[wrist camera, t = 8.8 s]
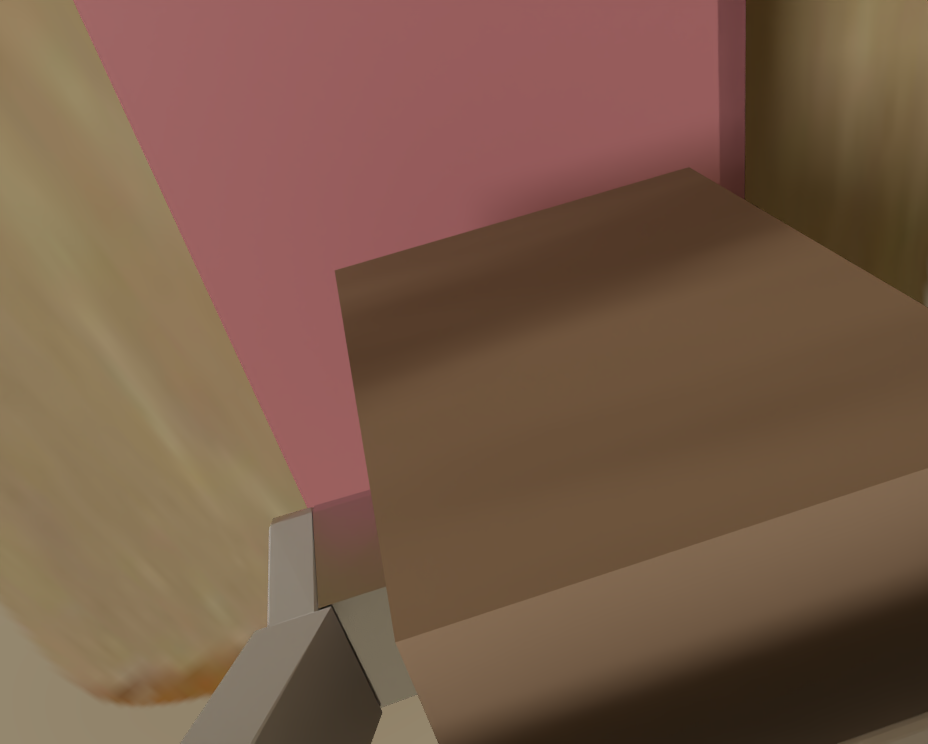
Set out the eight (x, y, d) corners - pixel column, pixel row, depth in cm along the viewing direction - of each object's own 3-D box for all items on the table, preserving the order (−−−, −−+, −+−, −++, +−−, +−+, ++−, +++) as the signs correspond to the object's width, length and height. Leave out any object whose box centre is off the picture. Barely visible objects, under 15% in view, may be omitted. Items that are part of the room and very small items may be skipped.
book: (101, -86, 13) (32, -88, 10) (620, -216, 14) (747, -267, 10) (336, 477, 21) (349, 597, 17) (662, 376, 22) (743, 471, 18)
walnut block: (335, 270, 10) (394, 643, 5) (689, 166, 10) (1104, 410, 5) (425, 532, 12) (524, 943, 7) (701, 444, 13) (976, 781, 8)
